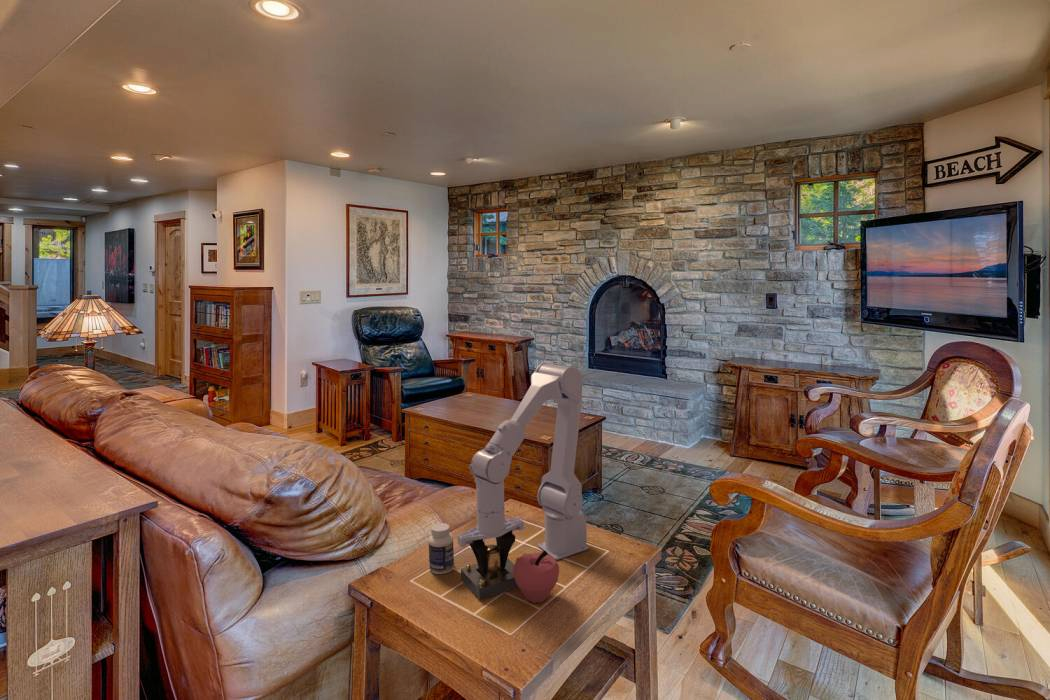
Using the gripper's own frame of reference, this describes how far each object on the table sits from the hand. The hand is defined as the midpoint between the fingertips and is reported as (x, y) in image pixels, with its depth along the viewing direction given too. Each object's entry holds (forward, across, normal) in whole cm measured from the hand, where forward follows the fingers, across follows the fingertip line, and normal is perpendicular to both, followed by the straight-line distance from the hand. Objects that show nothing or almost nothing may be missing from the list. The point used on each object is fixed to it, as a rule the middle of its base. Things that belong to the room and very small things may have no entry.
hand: (492, 569), depth 116 cm
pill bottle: (+3, +7, -11) cm, 13 cm away
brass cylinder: (+2, 0, 0) cm, 2 cm away
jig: (+3, 0, 0) cm, 3 cm away
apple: (+3, -5, +10) cm, 12 cm away
